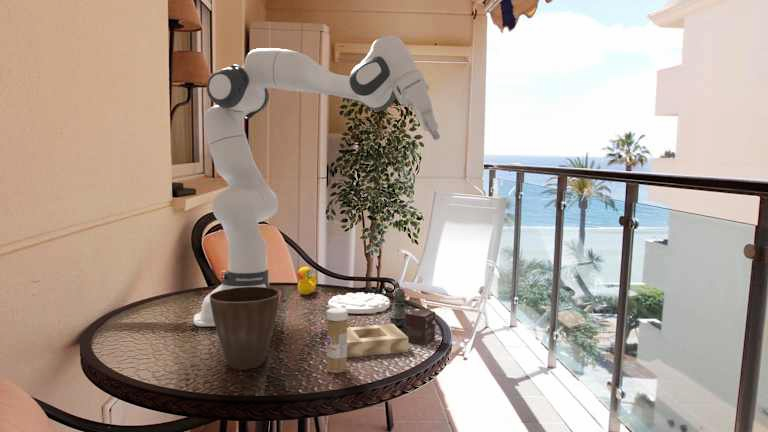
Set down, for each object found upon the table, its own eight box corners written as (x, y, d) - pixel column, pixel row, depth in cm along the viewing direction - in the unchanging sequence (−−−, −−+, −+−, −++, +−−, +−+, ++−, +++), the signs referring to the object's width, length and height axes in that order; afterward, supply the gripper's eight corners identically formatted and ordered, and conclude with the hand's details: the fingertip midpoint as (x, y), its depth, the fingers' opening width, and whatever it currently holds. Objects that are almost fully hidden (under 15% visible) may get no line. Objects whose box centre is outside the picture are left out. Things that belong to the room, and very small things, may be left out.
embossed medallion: (316, 307, 168) (316, 298, 168) (363, 297, 181) (363, 289, 181) (353, 320, 153) (353, 310, 153) (402, 308, 166) (402, 299, 166)
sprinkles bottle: (322, 370, 112) (322, 309, 111) (337, 364, 116) (337, 305, 115) (336, 375, 109) (337, 313, 108) (351, 369, 113) (352, 309, 112)
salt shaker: (407, 332, 140) (408, 288, 139) (386, 330, 142) (387, 287, 141) (410, 326, 146) (411, 284, 145) (390, 324, 147) (391, 283, 146)
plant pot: (214, 381, 106) (213, 304, 104) (207, 357, 119) (206, 289, 118) (286, 370, 112) (285, 298, 110) (272, 349, 125) (272, 284, 124)
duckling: (304, 298, 178) (304, 269, 177) (291, 297, 180) (291, 268, 179) (320, 291, 188) (320, 264, 188) (307, 290, 190) (307, 263, 189)
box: (424, 345, 130) (425, 316, 129) (403, 341, 133) (404, 313, 132) (435, 338, 135) (435, 311, 134) (415, 335, 138) (415, 308, 138)
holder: (343, 357, 120) (343, 343, 120) (333, 341, 131) (333, 328, 131) (408, 351, 125) (408, 337, 124) (393, 336, 136) (393, 323, 136)
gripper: (405, 108, 146) (428, 149, 144) (396, 82, 126) (422, 129, 124) (425, 97, 146) (448, 138, 143) (419, 69, 126) (446, 116, 123)
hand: (436, 134), depth 133 cm, fingers open, 8 cm apart
